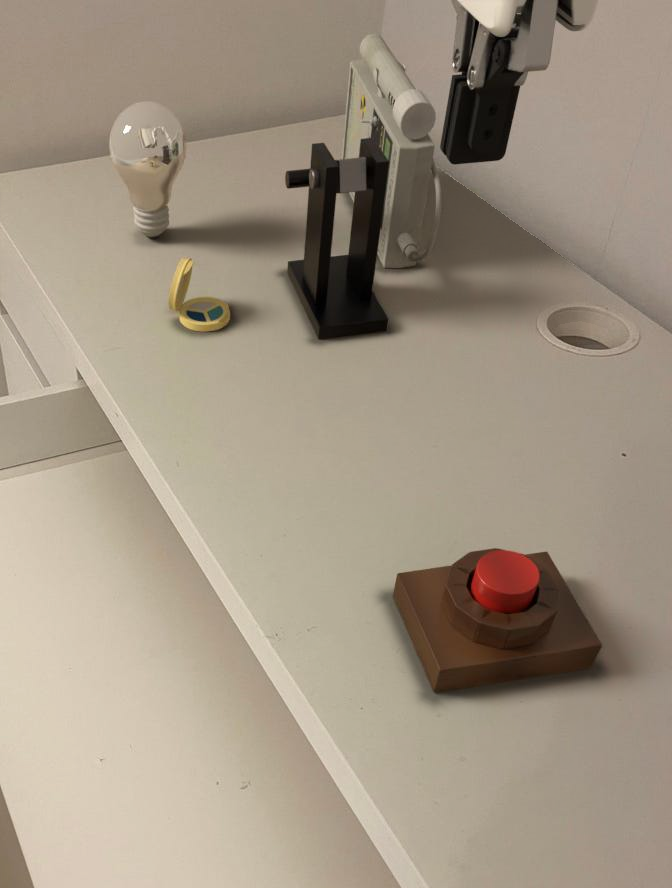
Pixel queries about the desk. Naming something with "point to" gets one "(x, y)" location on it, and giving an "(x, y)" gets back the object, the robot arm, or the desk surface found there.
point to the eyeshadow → (196, 303)
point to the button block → (492, 627)
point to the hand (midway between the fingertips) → (471, 155)
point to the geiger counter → (393, 147)
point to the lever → (348, 176)
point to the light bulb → (148, 161)
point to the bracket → (347, 276)
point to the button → (505, 581)
